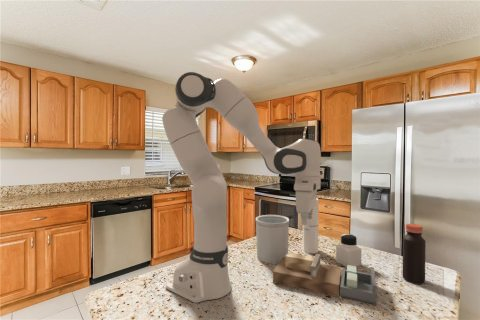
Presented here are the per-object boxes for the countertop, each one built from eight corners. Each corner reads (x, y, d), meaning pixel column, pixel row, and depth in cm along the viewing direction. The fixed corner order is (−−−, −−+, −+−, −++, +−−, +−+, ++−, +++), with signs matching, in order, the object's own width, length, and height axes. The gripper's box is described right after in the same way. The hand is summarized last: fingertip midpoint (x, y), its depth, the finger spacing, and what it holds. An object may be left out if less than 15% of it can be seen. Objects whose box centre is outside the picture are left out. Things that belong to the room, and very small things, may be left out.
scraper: (282, 271, 88) (282, 260, 88) (290, 259, 99) (290, 249, 99) (315, 278, 83) (315, 266, 83) (320, 264, 94) (320, 254, 94)
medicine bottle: (361, 265, 103) (362, 236, 103) (348, 268, 100) (348, 238, 100) (348, 259, 109) (348, 231, 109) (335, 261, 107) (335, 233, 106)
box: (340, 297, 79) (340, 278, 79) (342, 278, 92) (342, 262, 92) (376, 305, 75) (376, 286, 75) (373, 284, 87) (373, 267, 87)
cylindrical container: (318, 253, 115) (319, 200, 115) (303, 252, 116) (303, 199, 116) (317, 248, 122) (317, 197, 122) (302, 247, 123) (302, 197, 123)
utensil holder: (281, 267, 100) (281, 224, 100) (249, 259, 108) (249, 219, 108) (293, 255, 113) (294, 217, 113) (264, 249, 121) (264, 213, 121)
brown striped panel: (272, 282, 89) (272, 271, 89) (283, 266, 101) (283, 257, 101) (339, 297, 79) (339, 284, 79) (341, 278, 92) (341, 267, 92)
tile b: (346, 270, 85) (356, 272, 84) (347, 264, 90) (356, 266, 89) (346, 285, 85) (356, 286, 84) (347, 278, 90) (356, 280, 89)
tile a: (346, 278, 79) (357, 280, 78) (347, 272, 84) (357, 274, 83) (346, 294, 79) (357, 296, 78) (347, 287, 84) (357, 289, 83)
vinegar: (420, 276, 93) (420, 223, 93) (428, 285, 87) (429, 228, 86) (399, 274, 95) (400, 222, 95) (406, 283, 88) (407, 227, 88)
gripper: (304, 180, 101) (303, 214, 101) (292, 185, 82) (291, 227, 82) (320, 181, 98) (320, 216, 98) (312, 187, 80) (311, 229, 80)
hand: (307, 221), depth 90 cm, fingers open, 8 cm apart
